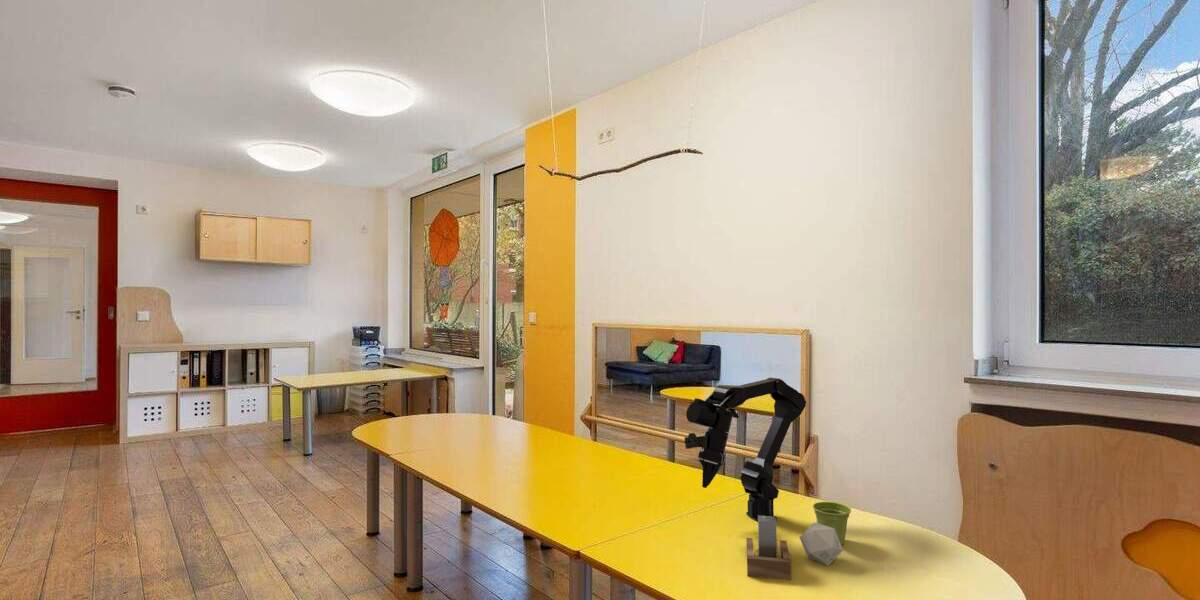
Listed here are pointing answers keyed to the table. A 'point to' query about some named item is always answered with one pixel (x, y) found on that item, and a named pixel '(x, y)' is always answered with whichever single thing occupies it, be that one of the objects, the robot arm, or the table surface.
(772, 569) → the brown u-shaped block
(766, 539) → the grey pillar with base
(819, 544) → the die
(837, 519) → the plant pot
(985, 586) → the table surface
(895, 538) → the table surface
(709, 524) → the table surface
